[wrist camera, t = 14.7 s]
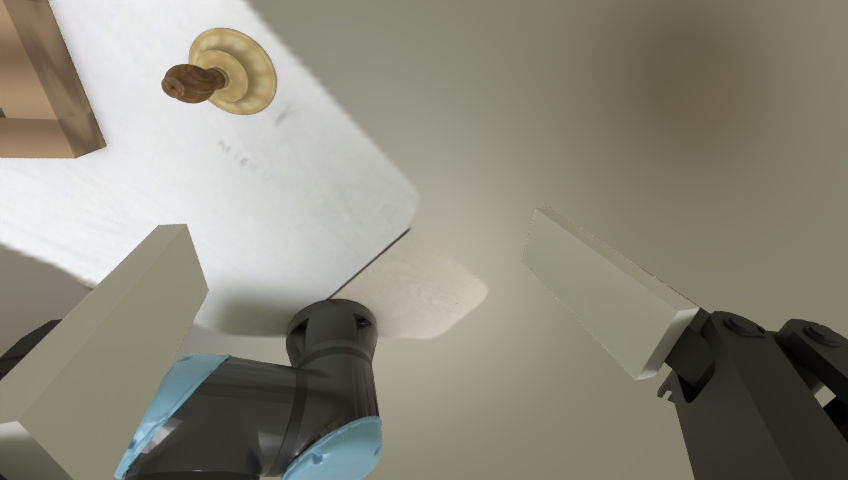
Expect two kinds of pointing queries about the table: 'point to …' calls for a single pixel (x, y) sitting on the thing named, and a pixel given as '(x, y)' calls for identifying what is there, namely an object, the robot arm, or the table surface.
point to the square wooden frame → (40, 88)
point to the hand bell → (224, 73)
